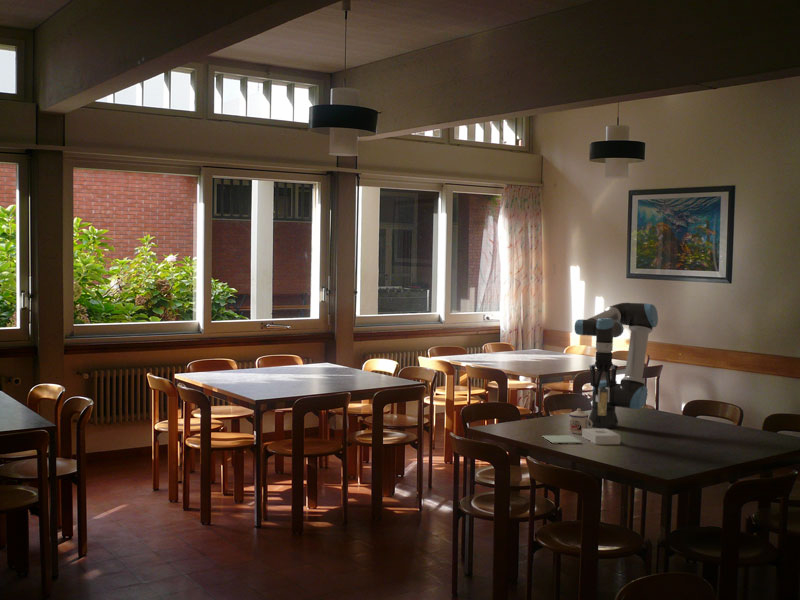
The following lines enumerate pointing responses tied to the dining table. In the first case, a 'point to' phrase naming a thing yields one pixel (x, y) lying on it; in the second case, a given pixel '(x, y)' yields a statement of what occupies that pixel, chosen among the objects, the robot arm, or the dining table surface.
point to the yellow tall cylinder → (602, 402)
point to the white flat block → (601, 436)
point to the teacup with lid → (579, 421)
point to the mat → (562, 439)
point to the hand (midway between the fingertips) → (602, 401)
